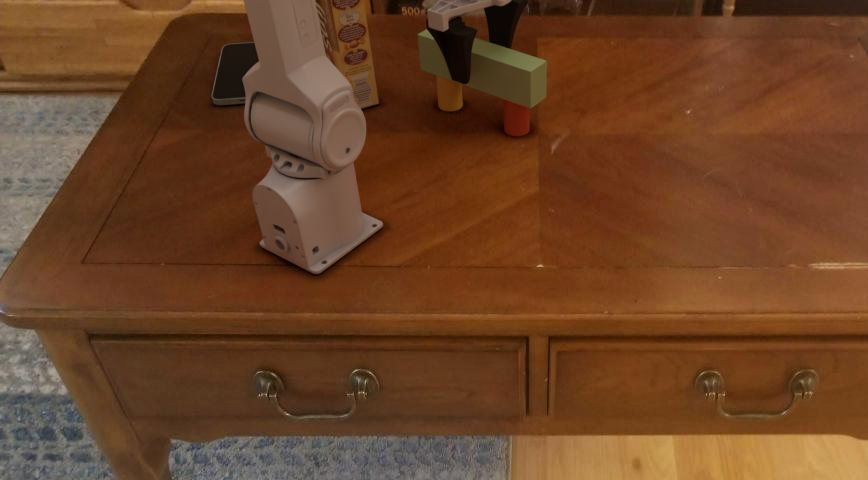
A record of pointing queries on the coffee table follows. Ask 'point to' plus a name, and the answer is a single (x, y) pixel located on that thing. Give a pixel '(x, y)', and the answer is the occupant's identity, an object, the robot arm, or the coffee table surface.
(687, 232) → the coffee table surface
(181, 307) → the coffee table surface
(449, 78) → the bar
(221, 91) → the smartphone
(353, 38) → the candy box
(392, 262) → the coffee table surface
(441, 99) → the cylinders
